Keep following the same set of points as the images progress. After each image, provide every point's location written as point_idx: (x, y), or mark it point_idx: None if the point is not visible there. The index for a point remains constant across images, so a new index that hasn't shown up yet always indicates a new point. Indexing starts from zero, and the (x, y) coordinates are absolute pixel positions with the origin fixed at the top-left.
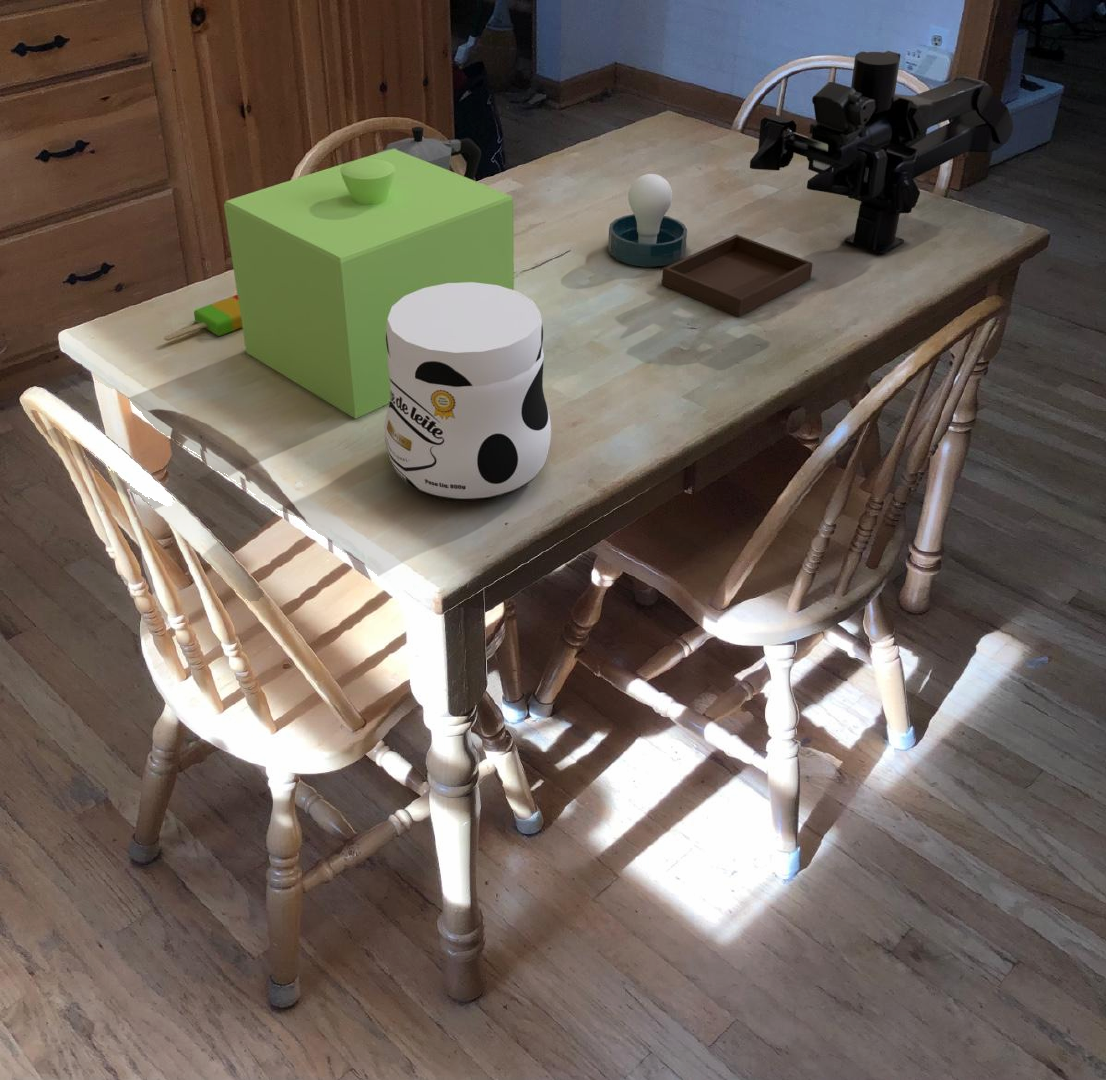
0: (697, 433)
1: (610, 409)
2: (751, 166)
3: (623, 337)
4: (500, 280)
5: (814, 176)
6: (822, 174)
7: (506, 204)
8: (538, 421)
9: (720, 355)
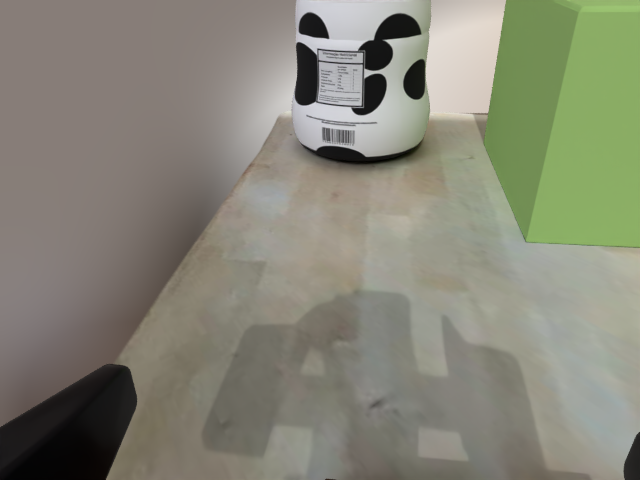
0: (212, 229)
1: (322, 218)
2: (633, 458)
3: (443, 319)
4: (541, 132)
5: (82, 401)
6: (12, 429)
7: (572, 15)
8: (296, 89)
9: (273, 358)
